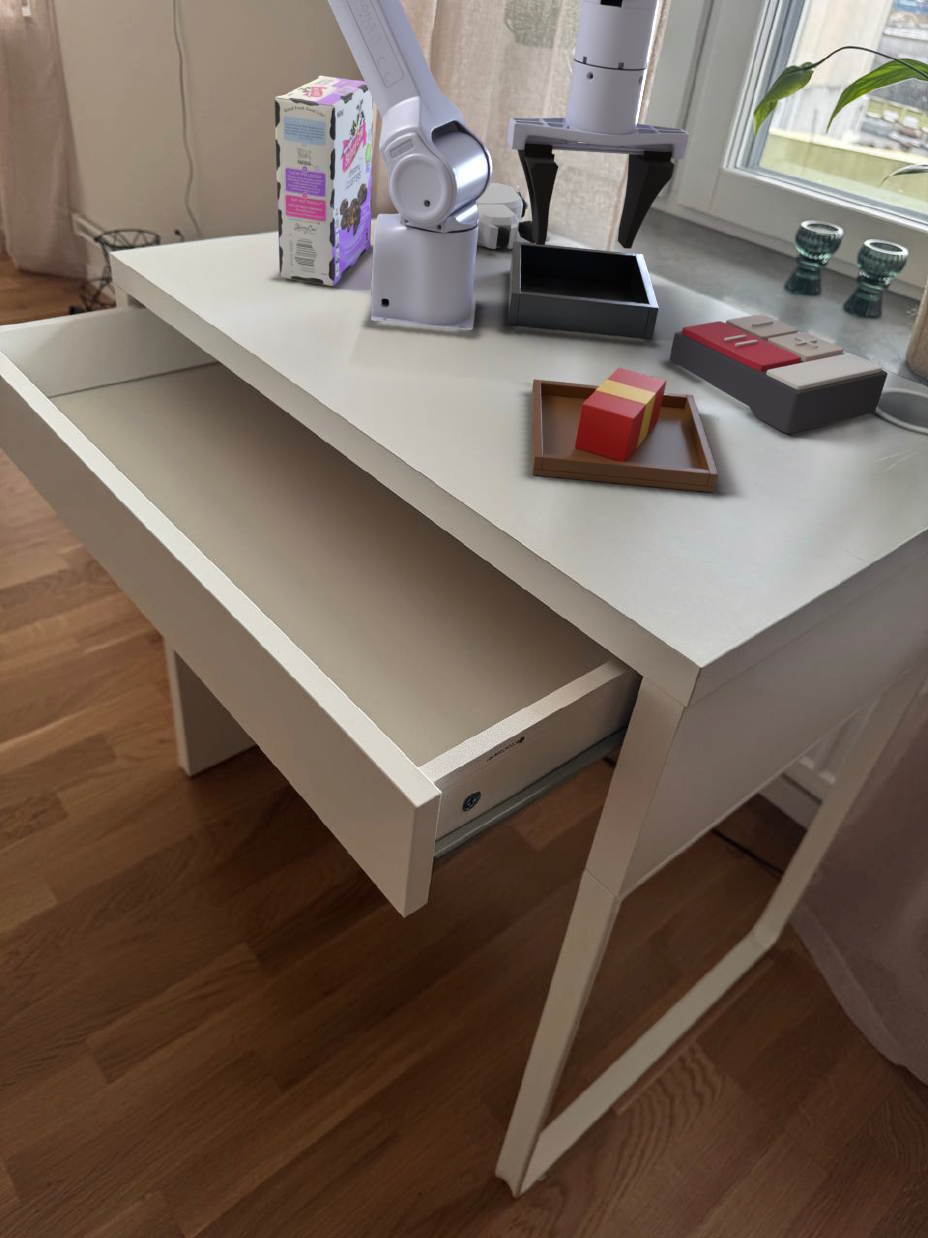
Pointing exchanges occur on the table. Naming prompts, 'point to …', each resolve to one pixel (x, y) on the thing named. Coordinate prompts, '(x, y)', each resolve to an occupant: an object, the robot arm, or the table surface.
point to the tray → (659, 461)
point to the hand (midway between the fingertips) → (581, 242)
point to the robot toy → (502, 217)
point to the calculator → (780, 371)
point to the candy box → (323, 178)
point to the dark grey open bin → (581, 291)
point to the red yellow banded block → (620, 414)
